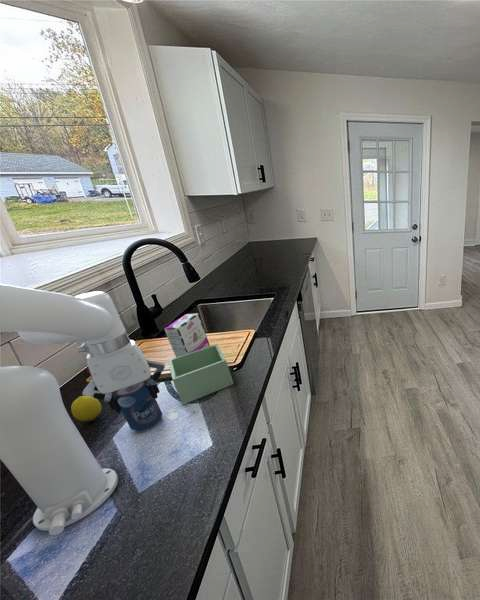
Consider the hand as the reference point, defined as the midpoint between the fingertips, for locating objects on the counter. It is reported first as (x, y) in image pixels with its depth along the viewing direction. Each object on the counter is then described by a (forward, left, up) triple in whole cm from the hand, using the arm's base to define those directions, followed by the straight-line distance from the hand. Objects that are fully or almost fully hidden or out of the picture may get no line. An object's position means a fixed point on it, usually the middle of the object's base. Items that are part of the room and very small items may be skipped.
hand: (137, 402), depth 81 cm
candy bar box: (+26, -15, -7) cm, 31 cm away
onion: (+39, +11, -7) cm, 41 cm away
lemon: (+13, +12, -7) cm, 19 cm away
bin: (+9, -15, -7) cm, 19 cm away
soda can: (0, 0, -7) cm, 7 cm away
